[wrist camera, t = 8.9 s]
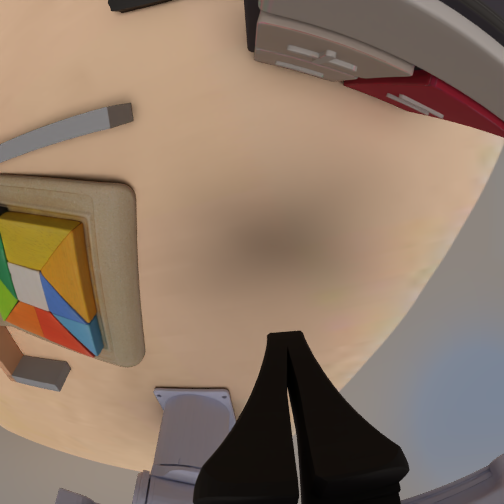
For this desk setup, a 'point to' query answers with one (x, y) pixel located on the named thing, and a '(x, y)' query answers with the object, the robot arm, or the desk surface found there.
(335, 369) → the desk surface
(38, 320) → the wooden puzzle
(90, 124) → the bay
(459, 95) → the grey and red box
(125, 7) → the dark sector wedge
